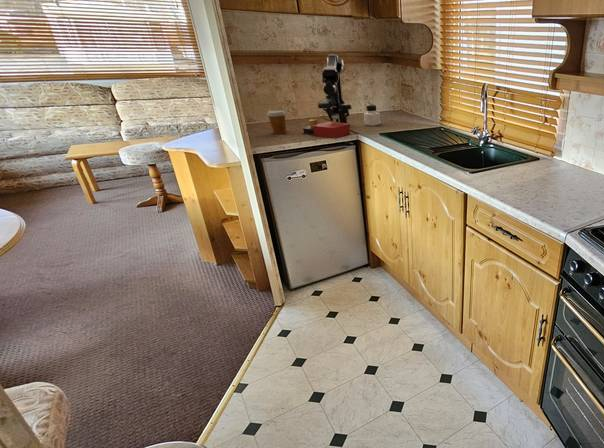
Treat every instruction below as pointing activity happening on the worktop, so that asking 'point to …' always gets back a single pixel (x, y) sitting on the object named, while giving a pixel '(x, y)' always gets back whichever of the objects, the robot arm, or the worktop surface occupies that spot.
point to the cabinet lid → (332, 124)
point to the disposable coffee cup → (277, 121)
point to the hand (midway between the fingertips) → (336, 121)
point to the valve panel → (308, 130)
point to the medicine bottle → (371, 116)
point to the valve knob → (313, 122)
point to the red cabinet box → (331, 132)
